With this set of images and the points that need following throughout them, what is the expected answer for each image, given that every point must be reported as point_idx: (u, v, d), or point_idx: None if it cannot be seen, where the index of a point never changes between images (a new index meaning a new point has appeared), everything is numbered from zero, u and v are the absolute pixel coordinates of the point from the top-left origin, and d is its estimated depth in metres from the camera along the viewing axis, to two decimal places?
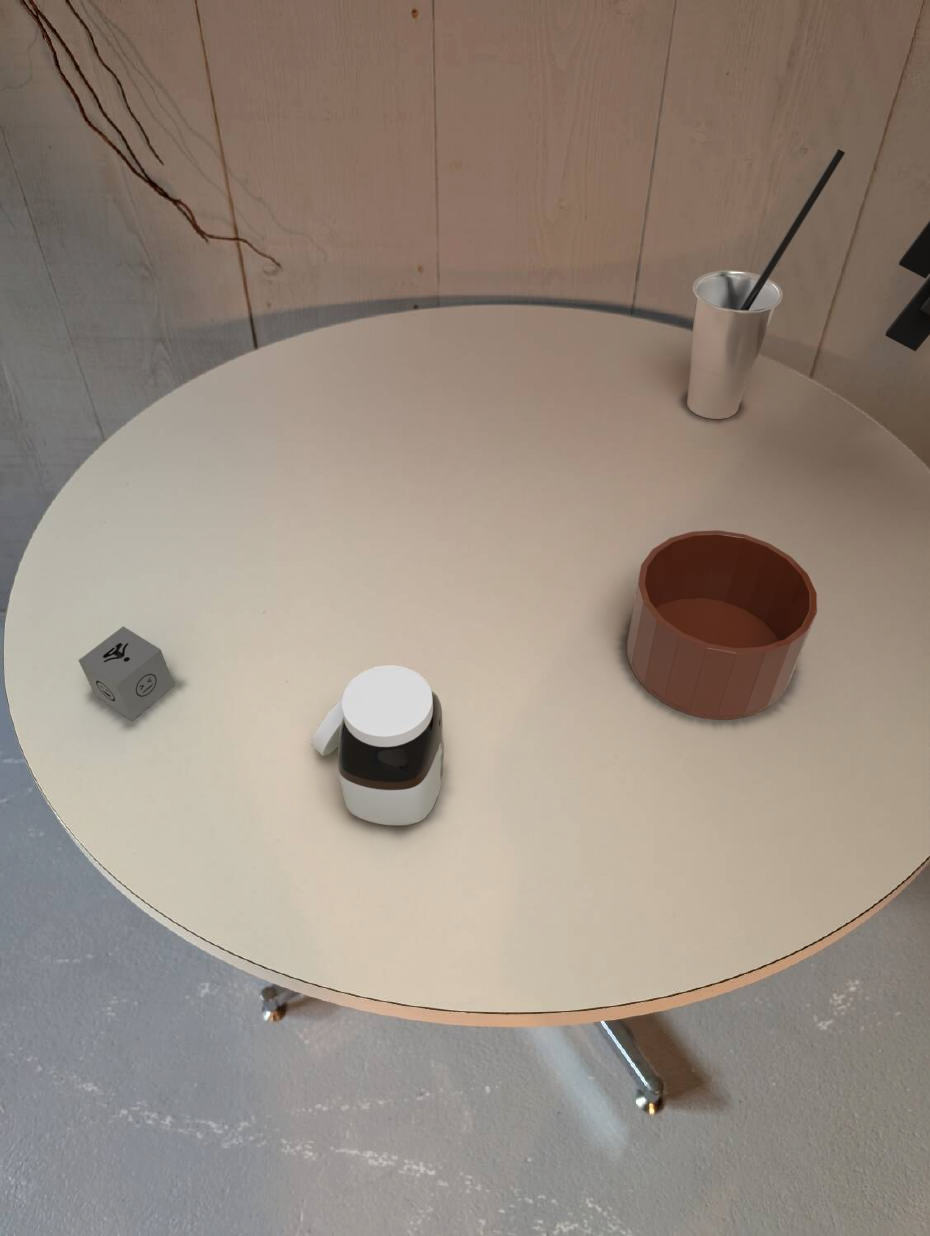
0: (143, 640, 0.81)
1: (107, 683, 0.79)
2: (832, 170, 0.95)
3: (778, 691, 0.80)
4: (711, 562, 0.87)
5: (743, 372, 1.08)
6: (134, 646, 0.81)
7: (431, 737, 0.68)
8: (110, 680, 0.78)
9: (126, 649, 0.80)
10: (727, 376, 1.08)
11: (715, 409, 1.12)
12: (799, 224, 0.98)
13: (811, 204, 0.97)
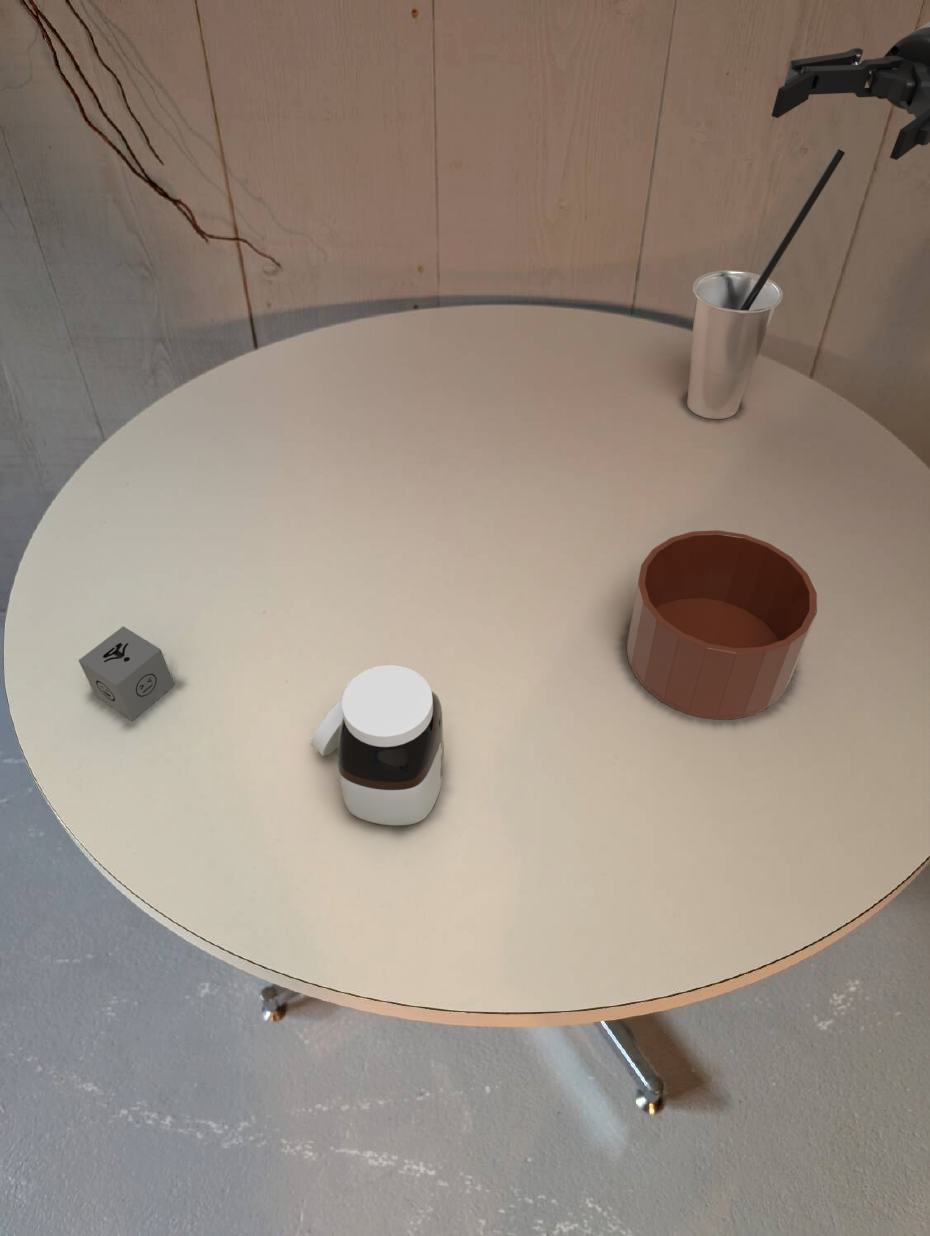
0: (143, 640, 0.81)
1: (107, 683, 0.79)
2: (832, 170, 0.95)
3: (778, 691, 0.80)
4: (711, 562, 0.87)
5: (743, 372, 1.08)
6: (134, 646, 0.81)
7: (431, 737, 0.68)
8: (110, 680, 0.78)
9: (126, 649, 0.80)
10: (727, 376, 1.08)
11: (715, 409, 1.12)
12: (799, 224, 0.98)
13: (811, 204, 0.97)
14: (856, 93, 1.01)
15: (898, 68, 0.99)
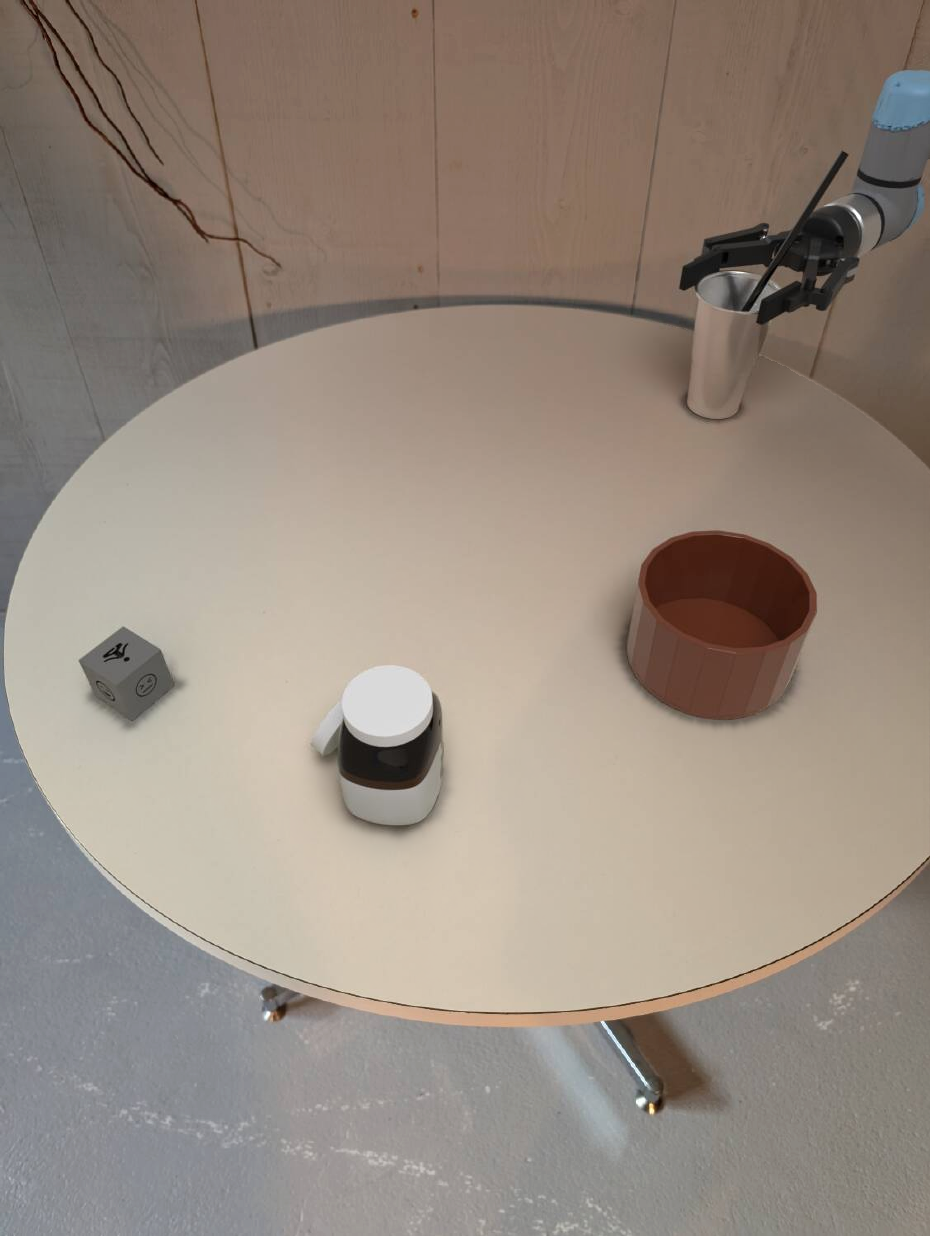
0: (143, 640, 0.81)
1: (107, 683, 0.79)
2: (835, 171, 0.94)
3: (778, 691, 0.80)
4: (711, 562, 0.87)
5: (744, 373, 1.08)
6: (134, 646, 0.81)
7: (431, 737, 0.68)
8: (110, 680, 0.78)
9: (126, 649, 0.80)
10: (727, 377, 1.08)
11: (715, 409, 1.11)
12: (802, 225, 0.98)
13: (814, 205, 0.97)
14: (764, 264, 1.09)
15: (800, 241, 1.08)
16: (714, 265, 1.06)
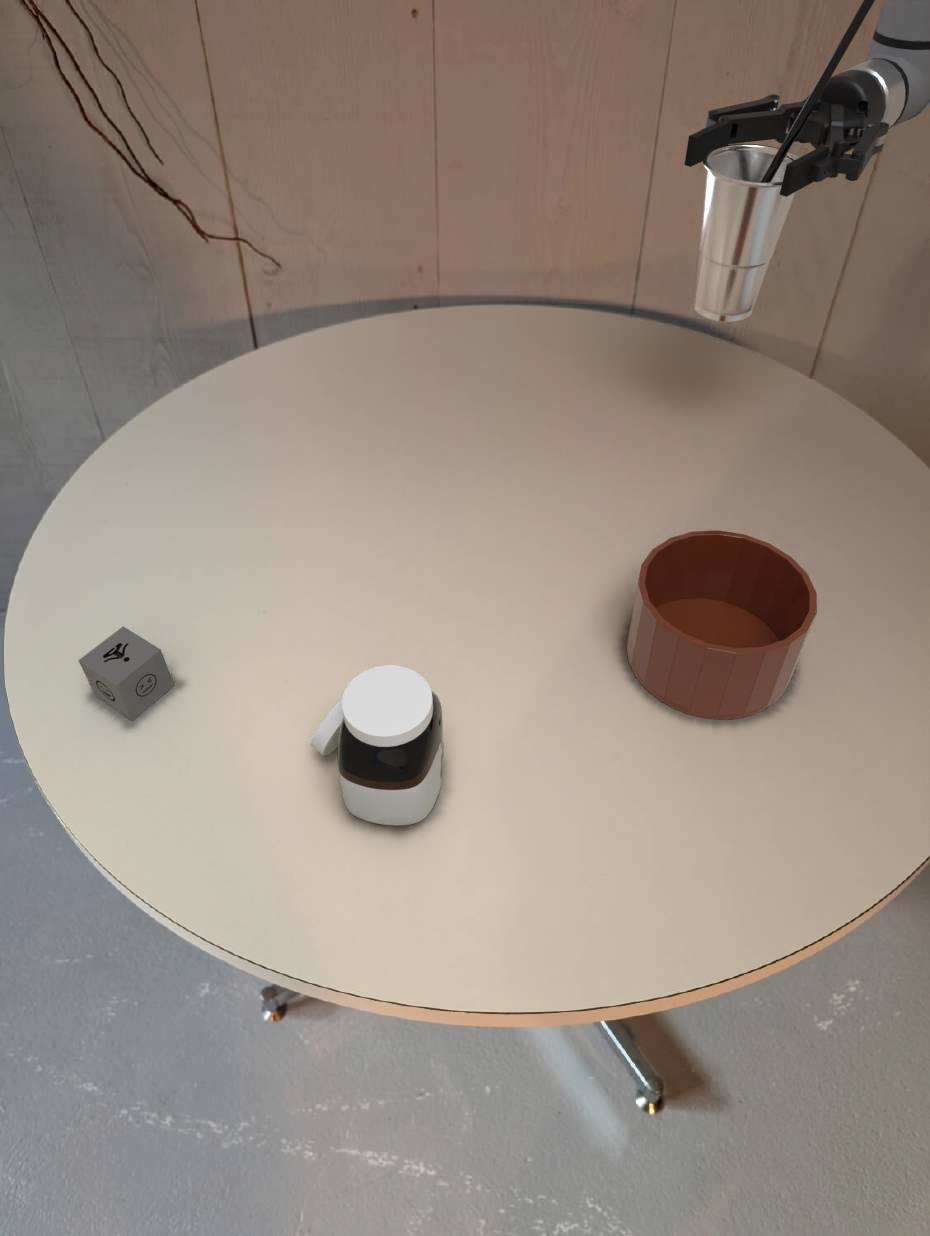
0: (143, 640, 0.81)
1: (107, 683, 0.78)
2: (868, 5, 0.80)
3: (778, 691, 0.80)
4: (711, 562, 0.87)
5: (761, 263, 0.93)
6: (134, 646, 0.80)
7: (431, 737, 0.68)
8: (110, 680, 0.78)
9: (126, 649, 0.80)
10: (743, 268, 0.93)
11: (728, 309, 0.97)
12: (829, 76, 0.84)
13: (843, 50, 0.82)
14: (777, 139, 0.95)
15: (818, 110, 0.94)
16: (723, 138, 0.92)
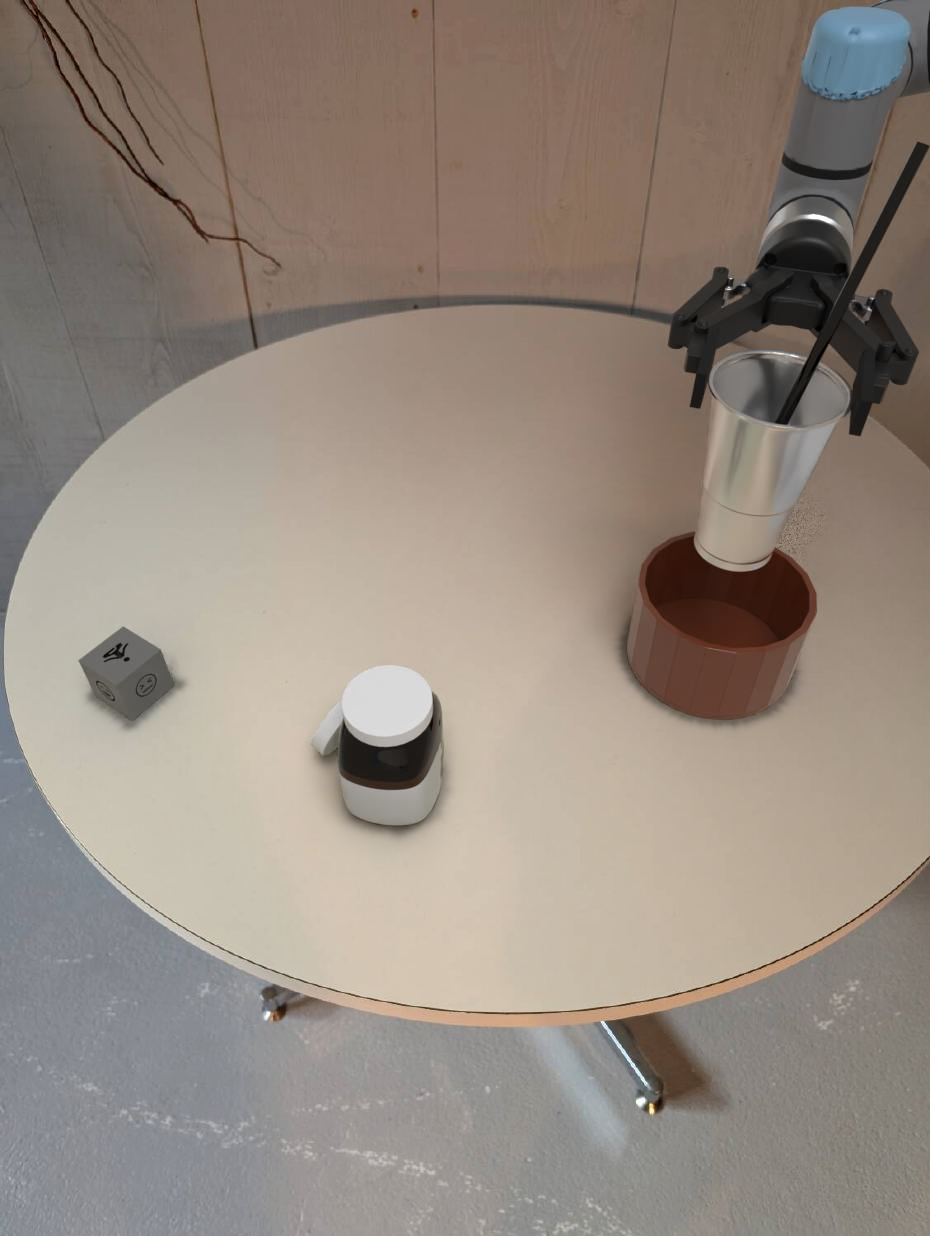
0: (143, 640, 0.81)
1: (107, 683, 0.79)
2: (913, 176, 0.58)
3: (778, 691, 0.80)
4: None
5: None
6: (134, 646, 0.81)
7: (431, 737, 0.68)
8: (110, 680, 0.78)
9: (126, 649, 0.80)
10: (781, 513, 0.69)
11: (758, 557, 0.72)
12: (866, 269, 0.61)
13: (883, 235, 0.60)
14: (754, 329, 0.71)
15: (792, 284, 0.71)
16: (714, 354, 0.66)
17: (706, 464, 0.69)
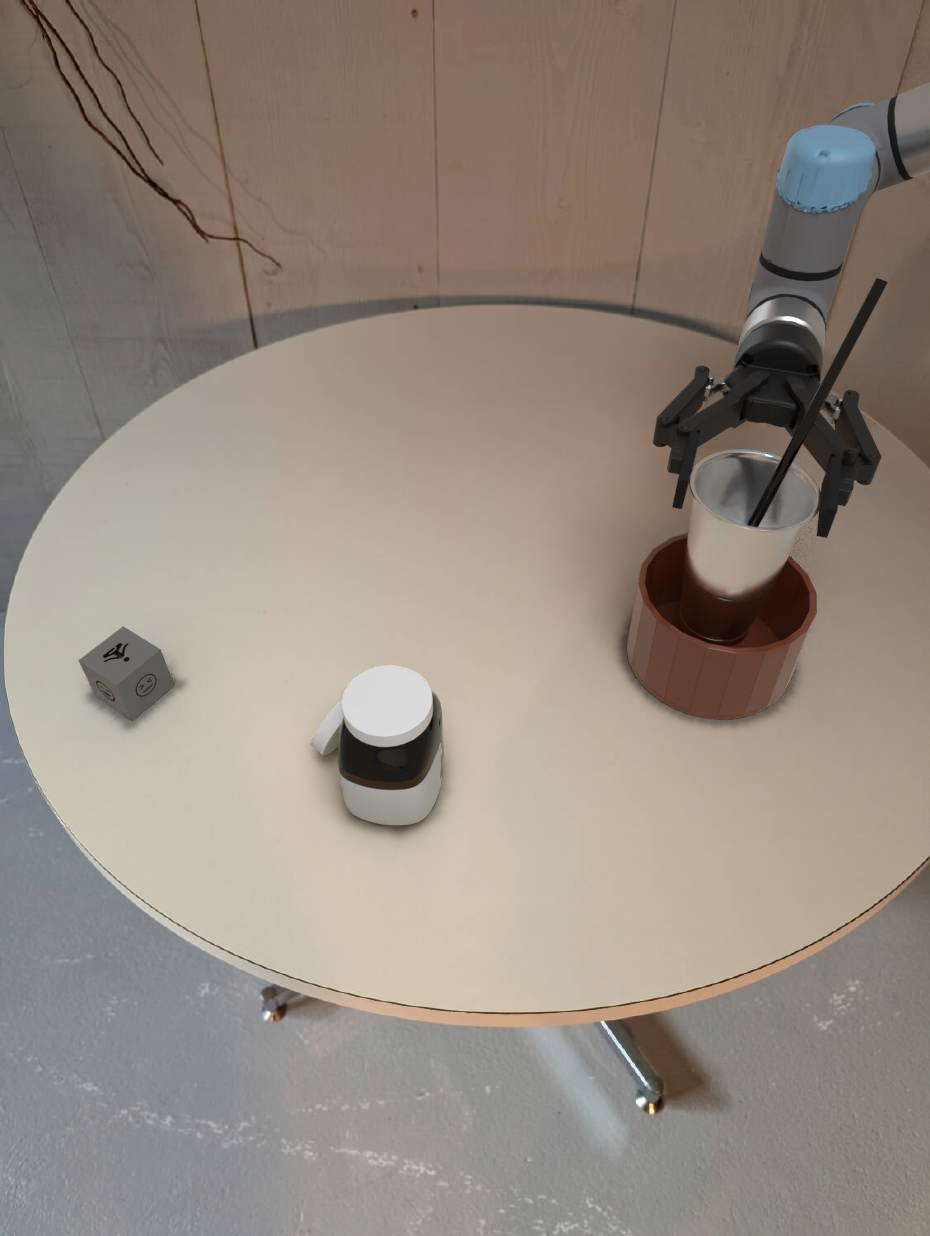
0: (143, 640, 0.81)
1: (107, 683, 0.79)
2: (873, 308, 0.64)
3: (778, 691, 0.80)
4: None
5: None
6: (134, 646, 0.81)
7: (431, 737, 0.68)
8: (110, 680, 0.78)
9: (126, 649, 0.80)
10: (757, 598, 0.75)
11: (737, 634, 0.78)
12: (832, 386, 0.67)
13: (847, 358, 0.66)
14: (732, 425, 0.77)
15: (767, 384, 0.77)
16: (695, 455, 0.72)
17: (688, 553, 0.75)
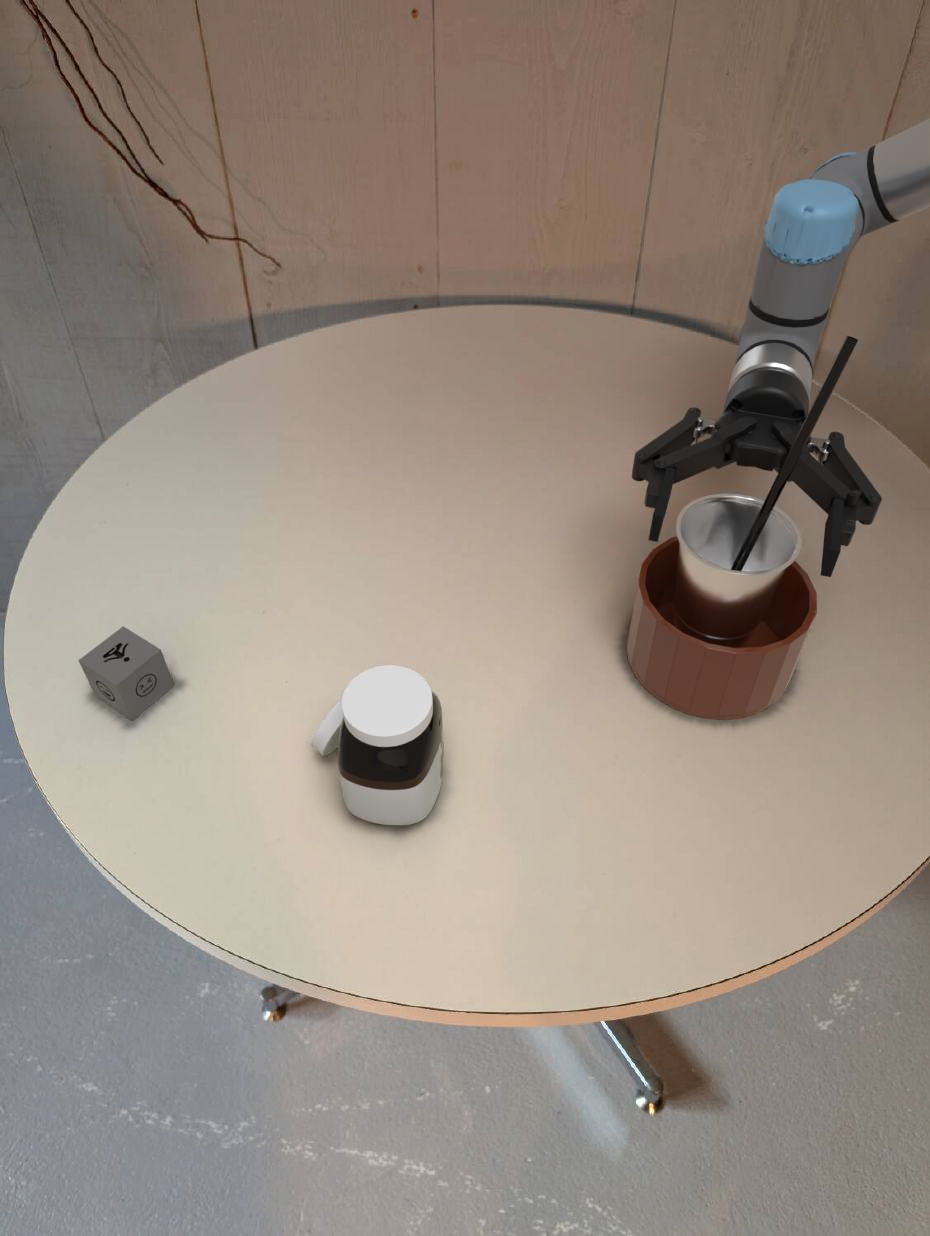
0: (143, 640, 0.81)
1: (107, 683, 0.79)
2: (845, 364, 0.67)
3: (778, 691, 0.80)
4: None
5: (759, 622, 0.79)
6: (134, 646, 0.81)
7: (431, 737, 0.68)
8: (110, 680, 0.78)
9: (126, 649, 0.80)
10: (744, 635, 0.78)
11: None
12: (809, 436, 0.70)
13: (822, 410, 0.69)
14: (716, 466, 0.81)
15: (755, 430, 0.80)
16: (670, 490, 0.76)
17: (677, 593, 0.79)
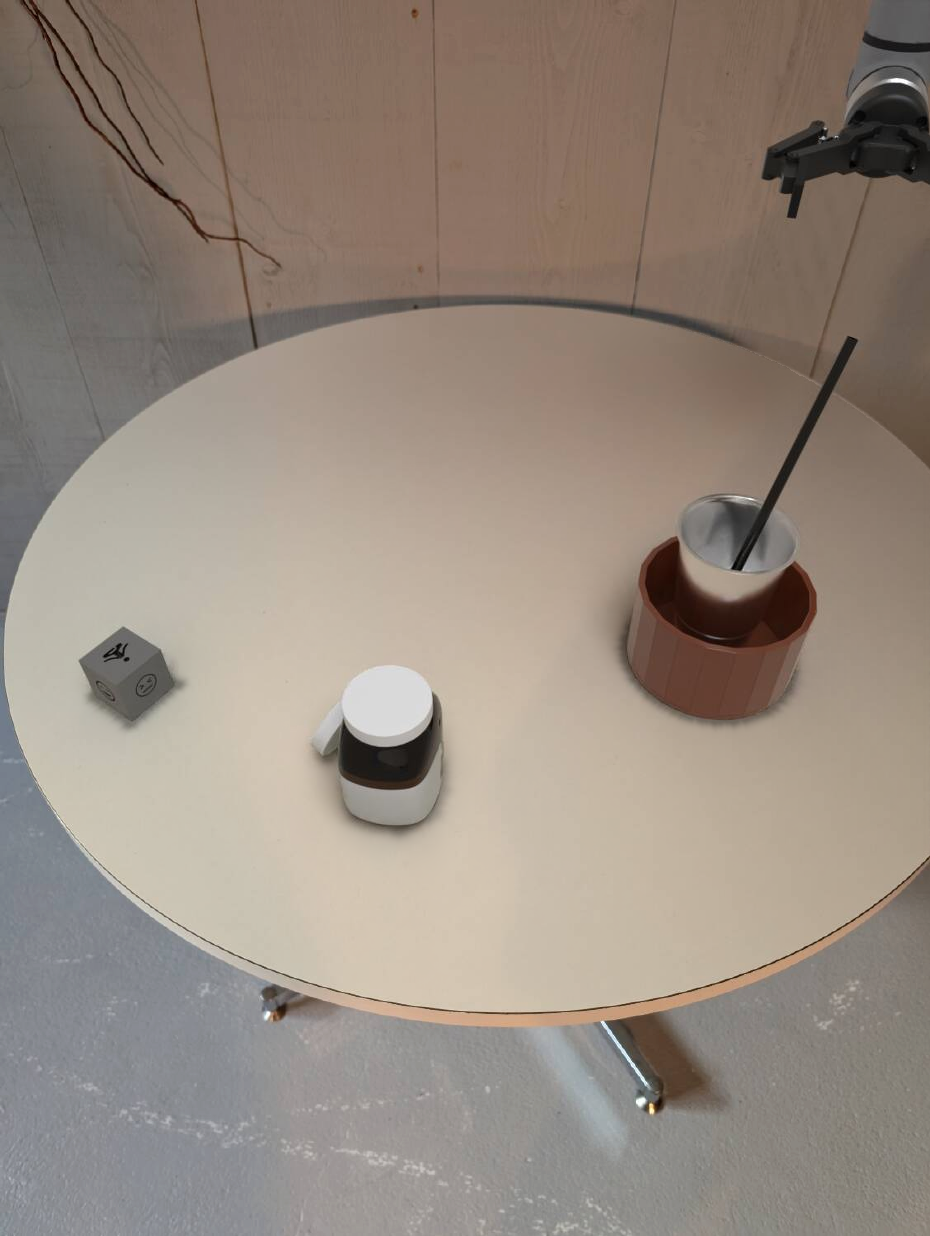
0: (143, 640, 0.81)
1: (107, 683, 0.79)
2: (845, 364, 0.67)
3: (778, 691, 0.80)
4: None
5: (759, 622, 0.79)
6: (134, 646, 0.81)
7: (431, 737, 0.68)
8: (110, 680, 0.78)
9: (126, 649, 0.80)
10: (744, 635, 0.78)
11: None
12: (809, 436, 0.70)
13: (822, 410, 0.69)
14: (841, 171, 0.83)
15: (880, 134, 0.82)
16: None
17: (677, 593, 0.79)
